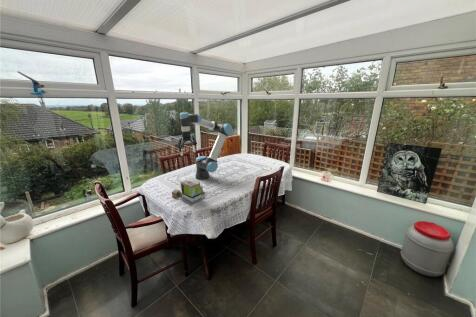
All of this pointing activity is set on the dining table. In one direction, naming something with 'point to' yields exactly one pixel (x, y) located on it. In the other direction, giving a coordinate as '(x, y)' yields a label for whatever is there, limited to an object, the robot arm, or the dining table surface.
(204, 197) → the slate mat
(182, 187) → the tea box
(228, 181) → the dining table surface
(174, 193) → the walnut block
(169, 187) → the dining table surface
